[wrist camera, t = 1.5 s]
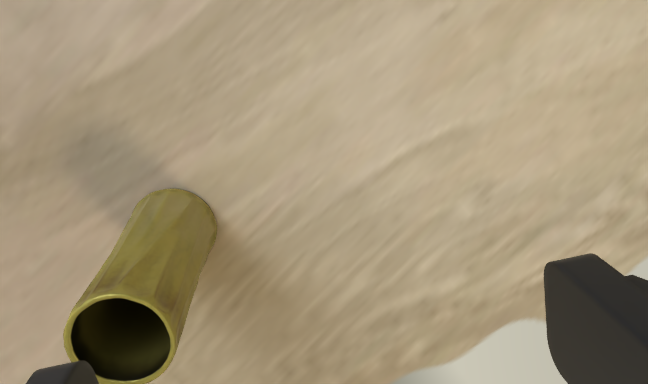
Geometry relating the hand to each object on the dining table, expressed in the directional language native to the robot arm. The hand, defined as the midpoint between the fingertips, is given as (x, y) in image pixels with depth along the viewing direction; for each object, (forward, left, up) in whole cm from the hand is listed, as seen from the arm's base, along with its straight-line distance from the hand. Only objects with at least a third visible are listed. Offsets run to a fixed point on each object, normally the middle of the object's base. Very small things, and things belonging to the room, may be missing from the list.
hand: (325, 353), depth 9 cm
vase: (-2, -12, -29) cm, 31 cm away
